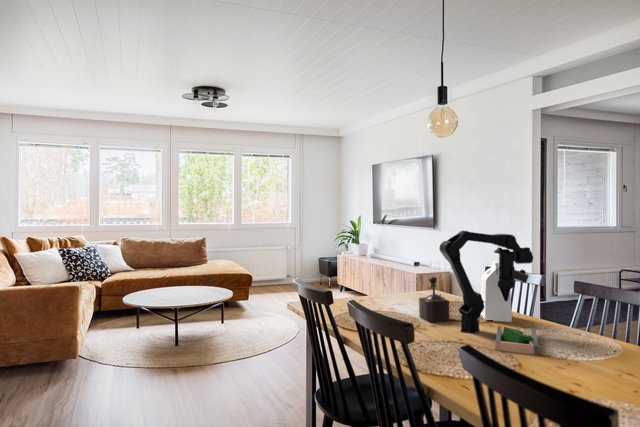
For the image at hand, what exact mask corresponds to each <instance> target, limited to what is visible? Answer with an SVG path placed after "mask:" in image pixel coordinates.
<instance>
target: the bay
mask: <svg viewBox="0 0 640 427" xmlns="http://www.w3.org/2000/svg"><path fill="white" fill-rule="evenodd" d="M502 334H503V326H502V325H497V331H496V337H495V349H498V350H497V351H500V350H502V351H501V352H508V353H509V352H510V353H518V354H528V355H534V356H535V355H536V356H538V355H539V342H538V335H537V329H536V328H531V337H533V338H534V339H533V342H531V343H529V344H523V343H513V342H504V341H502ZM532 344H533V345H532ZM495 349H494V350H495Z"/></svg>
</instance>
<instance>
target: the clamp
mask: <svg viewBox="0 0 640 427" xmlns="http://www.w3.org/2000/svg"><path fill="white" fill-rule="evenodd" d="M533 339H534V338H533V337H532V335H528V334H524V332H523V331H521V330H520V329H515V328H512V327H511V328H510V327H506V326H504V327H503V329H502V336H501V341H504V342H513V343H523V344H530V342H531V343H532V342H533Z"/></svg>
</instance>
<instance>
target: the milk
mask: <svg viewBox="0 0 640 427" xmlns="http://www.w3.org/2000/svg"><path fill="white" fill-rule="evenodd" d="M480 280H481V281H480V284H481V285H480V294H481V296H482V300H483V301H484V302H485V303H483V304H484V309H483V311H482V312H481V315H482V316H483V318H484V319H485V320H486V319H487V320H493V321H492V322H508V323H509V322H510V323H511V322H513V320H512V319H513V317H512V316H513V315H512V300H511V299H512V298H511V297H512V296H511V294H512V293H511V291H510V292H509V297H508V301H505V300H504V298H503V295H502V293H501V290H500V288H499V287H498V280H499V261H496V260H493V261H492V264H491V267H490V268H488V269H486V270H485V272H484V273H482V274H481V279H480ZM481 315H480V316H481ZM482 316H481V317H482ZM483 318H482V319H483ZM484 319H483V320H484ZM485 320H484V321H485Z"/></svg>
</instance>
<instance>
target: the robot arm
mask: <svg viewBox="0 0 640 427" xmlns="http://www.w3.org/2000/svg"><path fill="white" fill-rule="evenodd" d="M468 241H469V242H478V243H483V244H484V243H485V244H491V245H493V246H497V248H496V249H495V250H494V251H493V253H495V254H498V263H499V280H498V287H499V288H500V290H501V293H502V295H503V298H504V300H505V301H508V297H509V292H510V293H511V289H514V288H515V280H517V281H519V282H522V283H523V284H527V281H528V279H529V278H530V277H529V274H528V273H526V270H525V269H520V270H517V269H516V268H515V265H514V264H516V265H519V264H520V265H521V264H523V265H524V264H525V265H527V264H529V265H530V264H532V262H534V255H533V253H532V251H531V247H527V246H525V247H521V246H520V244H518V242H517V238H516V236H515V235H514V234H509V233H496V234H495V233H494V234H489V233H479V232H471V231H468V230H461V231H458V233H456V234H454V235H453V236H451V237H450V238H448V239H447V240H444V241H442V242H441V243H440V245H439V252H440V253H441V255H442V256H443V257H444V258H445V260H446V261H447V262H448V263H449V265H450V266H451V267H450V268H451V270H452V272H453V274H454V276H455V278H456V281H457V283H458V285H459V288H460V290H461V292H462V301H463V304H462V305H461V306H460V307H459V308H458V311H459V314H460V315H461V316H460V317H461V320H460V321H461V322H460V324H461V325H460V332H461V333H462V332H463V333H471V334H477V333H478V331H480V318H481V312H482V311H483V309H484V304H483V303H485V302H484V301H483V300H482V296H481V293H480V292H477V291H475V290H474V288H473V286H472V283H471V282H470V279H469V277H468V275H467V273H466V270H465V268H464V266H463V263H462V261H461V251H460V250H461V249H462V248H463V247H465V245H466V243H467V242H468Z"/></svg>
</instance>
